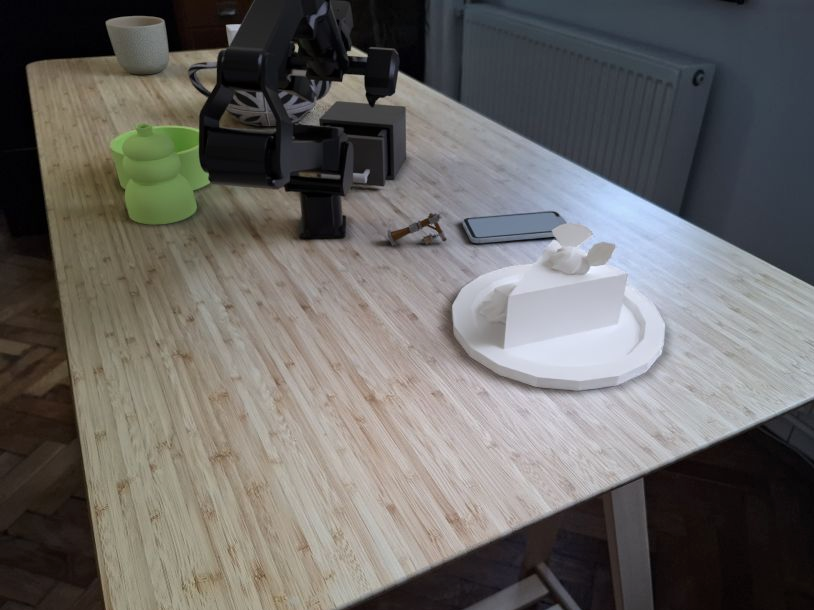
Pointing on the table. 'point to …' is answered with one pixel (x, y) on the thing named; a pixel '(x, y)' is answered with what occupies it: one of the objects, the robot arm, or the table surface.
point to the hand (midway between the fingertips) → (343, 102)
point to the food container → (159, 172)
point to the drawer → (367, 153)
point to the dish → (560, 318)
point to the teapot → (262, 100)
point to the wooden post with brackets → (415, 227)
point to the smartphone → (512, 226)
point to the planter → (139, 43)
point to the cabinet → (374, 125)
